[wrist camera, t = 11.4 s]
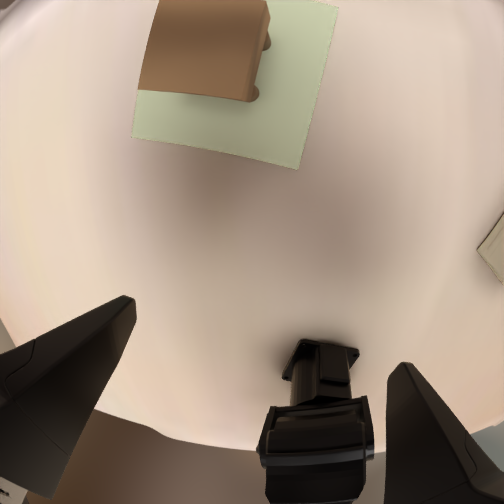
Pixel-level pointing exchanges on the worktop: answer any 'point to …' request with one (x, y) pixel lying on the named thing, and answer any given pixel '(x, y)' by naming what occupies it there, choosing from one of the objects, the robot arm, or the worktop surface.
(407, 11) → the worktop surface
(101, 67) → the worktop surface
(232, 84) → the toy stool
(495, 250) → the supplement box
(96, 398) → the robot arm
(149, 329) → the worktop surface
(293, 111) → the sage mat
